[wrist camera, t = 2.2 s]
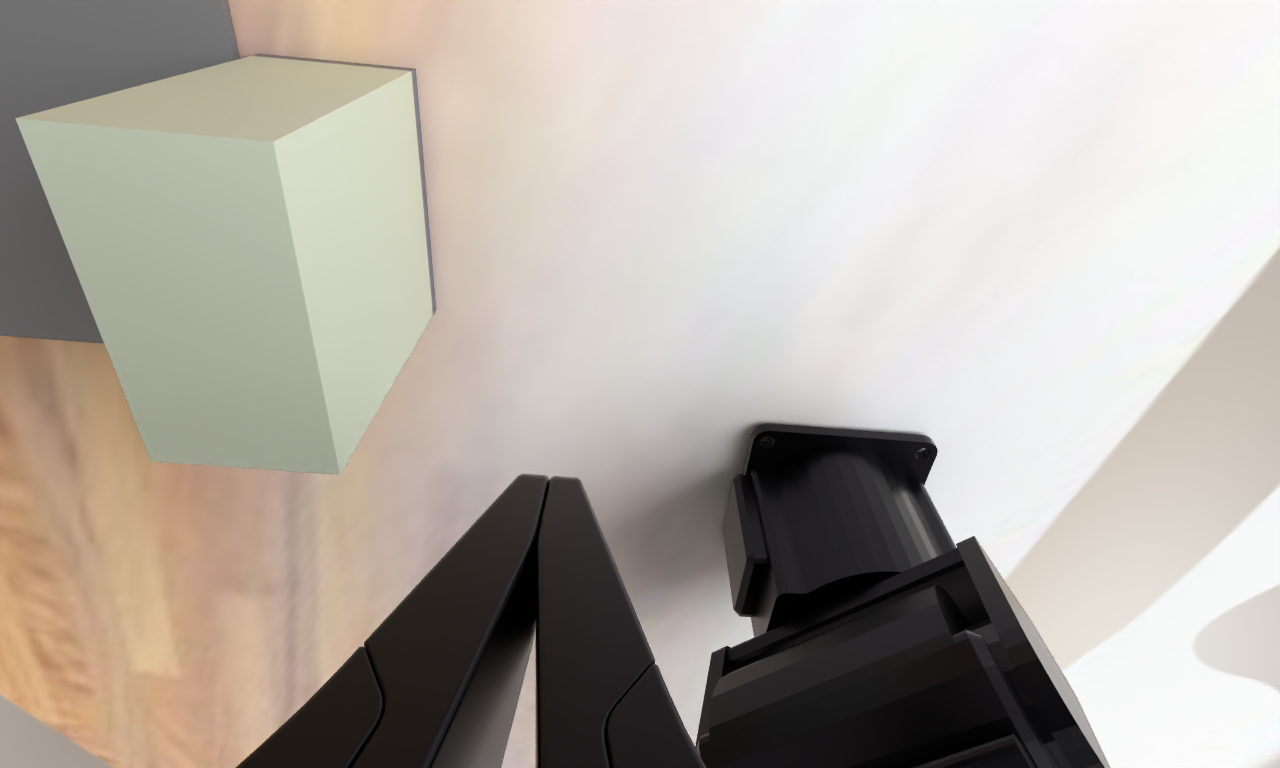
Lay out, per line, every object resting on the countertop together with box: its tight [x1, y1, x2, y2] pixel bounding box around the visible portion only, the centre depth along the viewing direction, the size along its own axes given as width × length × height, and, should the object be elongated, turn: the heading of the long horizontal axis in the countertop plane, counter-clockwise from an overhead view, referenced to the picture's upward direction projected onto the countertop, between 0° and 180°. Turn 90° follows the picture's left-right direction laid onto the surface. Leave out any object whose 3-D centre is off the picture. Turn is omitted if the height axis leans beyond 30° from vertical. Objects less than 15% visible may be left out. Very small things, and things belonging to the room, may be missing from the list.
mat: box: [0, 0, 240, 343], centre depth 19 cm, size 9×11×1 cm
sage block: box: [15, 54, 436, 475], centre depth 16 cm, size 4×7×8 cm, turn 175°
